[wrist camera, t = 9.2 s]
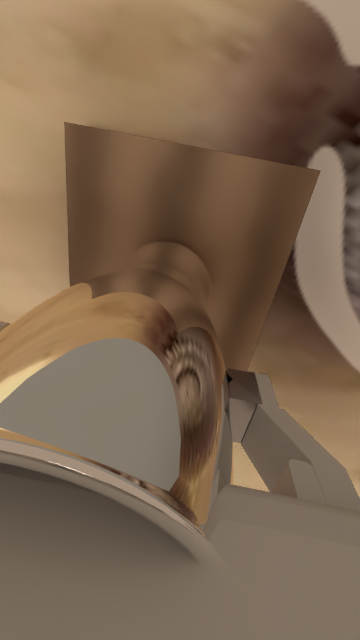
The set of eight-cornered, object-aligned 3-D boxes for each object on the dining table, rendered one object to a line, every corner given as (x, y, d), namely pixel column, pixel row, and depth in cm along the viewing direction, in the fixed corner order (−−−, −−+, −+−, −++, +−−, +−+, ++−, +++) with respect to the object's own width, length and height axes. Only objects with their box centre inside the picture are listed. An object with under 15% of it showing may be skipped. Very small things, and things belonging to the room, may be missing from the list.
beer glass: (116, 225, 16) (-331, 374, 3) (227, 242, 16) (330, 494, 3) (114, 324, 19) (-104, 624, 6) (207, 339, 19) (206, 687, 6)
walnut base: (304, 172, 19) (320, 170, 16) (242, 354, 26) (245, 373, 23) (85, 130, 19) (64, 121, 16) (85, 322, 26) (71, 338, 24)
